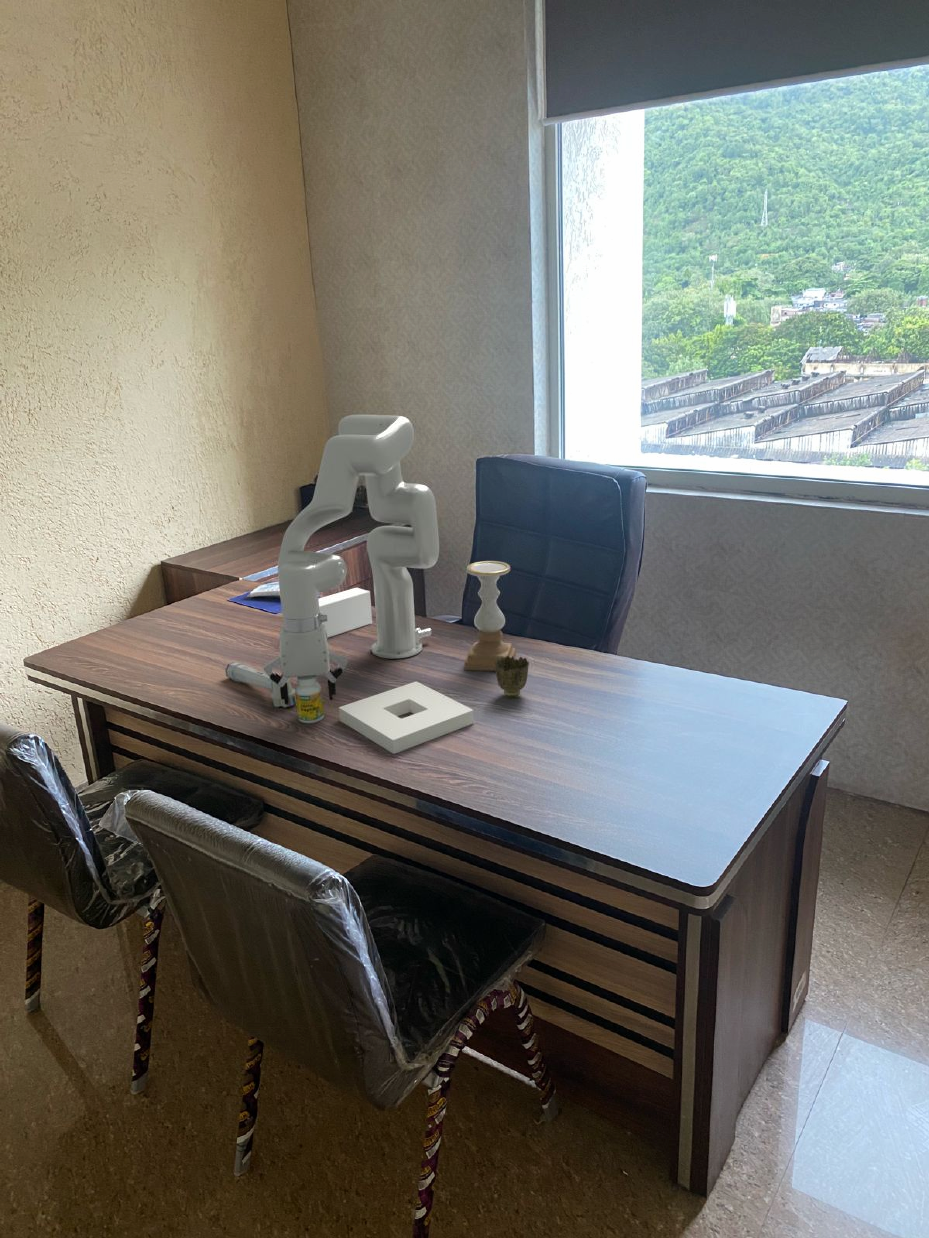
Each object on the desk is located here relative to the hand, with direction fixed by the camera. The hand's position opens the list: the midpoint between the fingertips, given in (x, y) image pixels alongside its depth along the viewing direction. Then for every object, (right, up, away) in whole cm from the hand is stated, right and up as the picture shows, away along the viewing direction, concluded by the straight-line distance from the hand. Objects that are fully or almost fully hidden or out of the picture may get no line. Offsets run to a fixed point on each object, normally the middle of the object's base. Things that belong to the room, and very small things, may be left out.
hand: (309, 699), depth 191 cm
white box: (-2, +13, +52) cm, 53 cm away
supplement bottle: (0, -4, +2) cm, 5 cm away
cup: (+43, 0, +9) cm, 44 cm away
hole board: (+20, -4, -2) cm, 21 cm away
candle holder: (+39, +6, +28) cm, 48 cm away
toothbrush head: (-13, 0, +16) cm, 21 cm away
